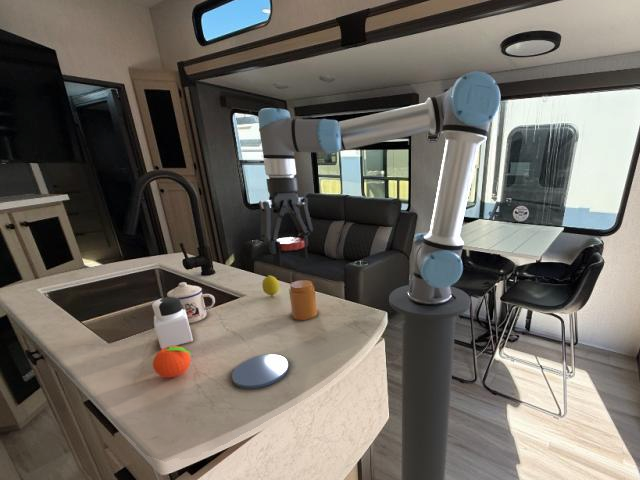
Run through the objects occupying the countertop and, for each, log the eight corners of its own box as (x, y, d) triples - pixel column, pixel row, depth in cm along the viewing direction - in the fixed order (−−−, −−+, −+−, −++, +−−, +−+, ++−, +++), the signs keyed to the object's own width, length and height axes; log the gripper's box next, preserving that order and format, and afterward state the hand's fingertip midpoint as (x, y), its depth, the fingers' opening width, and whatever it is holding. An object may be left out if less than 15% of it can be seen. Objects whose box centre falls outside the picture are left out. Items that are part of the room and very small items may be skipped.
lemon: (260, 297, 114) (257, 277, 112) (271, 292, 119) (268, 272, 116) (273, 299, 113) (270, 278, 110) (283, 294, 118) (280, 273, 115)
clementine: (203, 364, 76) (197, 338, 74) (190, 382, 70) (182, 354, 67) (167, 366, 75) (159, 340, 73) (150, 385, 69) (141, 357, 66)
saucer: (299, 367, 75) (299, 364, 75) (253, 396, 66) (252, 392, 65) (267, 351, 81) (267, 349, 81) (221, 376, 72) (221, 373, 72)
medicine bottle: (190, 331, 91) (180, 292, 87) (193, 341, 86) (182, 300, 82) (160, 338, 87) (148, 298, 83) (161, 349, 82) (148, 307, 78)
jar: (322, 313, 103) (319, 282, 99) (303, 322, 97) (299, 289, 93) (306, 307, 107) (302, 278, 103) (287, 316, 101) (283, 284, 97)
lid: (268, 247, 88) (267, 241, 87) (292, 242, 94) (291, 236, 94) (286, 252, 84) (285, 245, 83) (311, 246, 90) (310, 239, 89)
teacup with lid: (169, 326, 94) (159, 290, 90) (178, 314, 102) (169, 280, 98) (215, 320, 98) (207, 285, 94) (220, 308, 106) (213, 275, 102)
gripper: (303, 175, 92) (311, 251, 100) (234, 177, 76) (249, 267, 84) (321, 176, 88) (327, 254, 96) (252, 178, 72) (267, 272, 80)
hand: (291, 260), depth 90 cm, fingers closed on lid, 8 cm apart
